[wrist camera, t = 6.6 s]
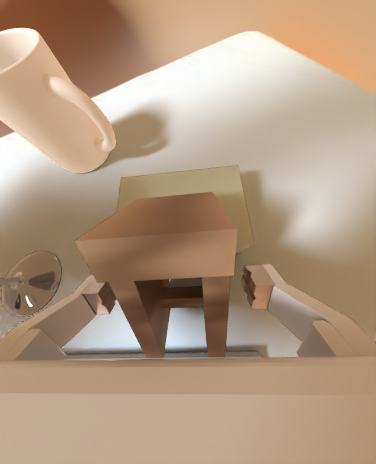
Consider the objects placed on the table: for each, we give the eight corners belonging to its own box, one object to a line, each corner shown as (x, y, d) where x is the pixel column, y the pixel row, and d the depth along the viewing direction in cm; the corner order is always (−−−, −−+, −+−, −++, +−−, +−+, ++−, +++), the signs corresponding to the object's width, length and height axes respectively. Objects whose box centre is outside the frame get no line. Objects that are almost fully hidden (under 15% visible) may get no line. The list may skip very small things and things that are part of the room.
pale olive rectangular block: (133, 259, 16) (111, 254, 12) (137, 198, 18) (121, 177, 14) (240, 252, 15) (254, 244, 11) (229, 189, 17) (238, 165, 13)
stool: (160, 336, 13) (2, 581, 3) (161, 228, 16) (93, 147, 6) (218, 335, 13) (304, 613, 2) (207, 225, 16) (220, 132, 6)
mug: (142, 142, 21) (93, 28, 11) (118, 186, 19) (31, 91, 9) (80, 131, 23) (-7, 26, 14) (52, 169, 21) (-77, 77, 11)
